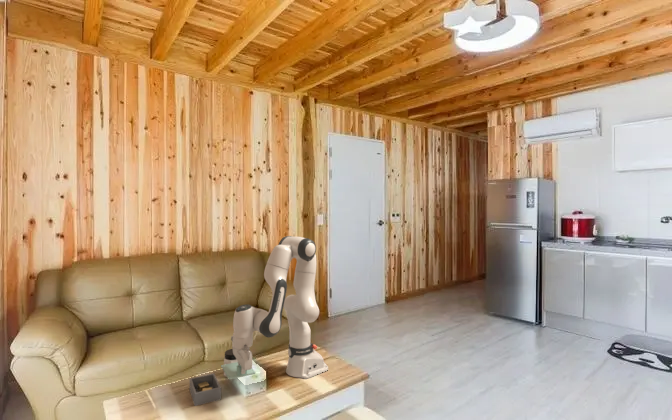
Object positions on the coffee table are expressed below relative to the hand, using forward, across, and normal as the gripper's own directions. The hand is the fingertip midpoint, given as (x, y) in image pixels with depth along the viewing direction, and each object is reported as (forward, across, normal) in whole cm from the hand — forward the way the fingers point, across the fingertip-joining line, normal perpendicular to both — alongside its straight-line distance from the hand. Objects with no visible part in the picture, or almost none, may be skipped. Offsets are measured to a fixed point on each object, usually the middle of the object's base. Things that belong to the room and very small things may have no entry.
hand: (241, 371), depth 162 cm
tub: (+12, +8, +14) cm, 20 cm away
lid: (+2, +6, 0) cm, 7 cm away
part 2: (+11, +5, +14) cm, 18 cm away
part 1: (+11, +11, +14) cm, 21 cm away
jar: (+11, +22, -2) cm, 24 cm away
